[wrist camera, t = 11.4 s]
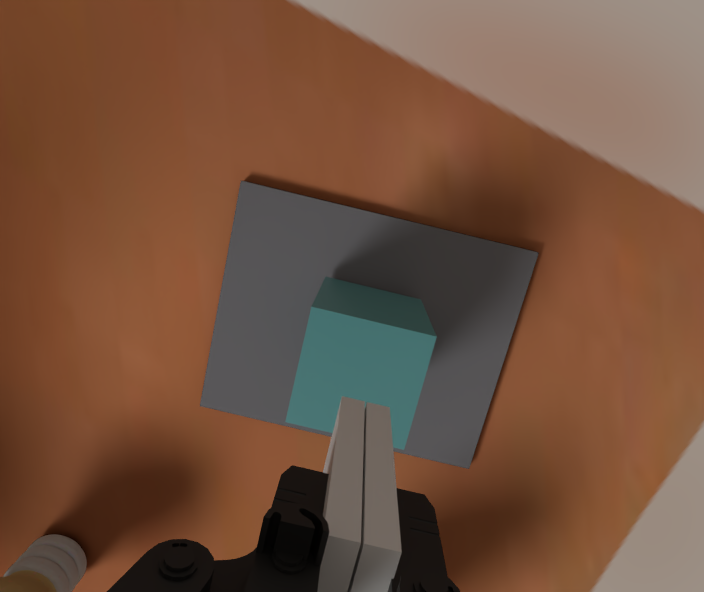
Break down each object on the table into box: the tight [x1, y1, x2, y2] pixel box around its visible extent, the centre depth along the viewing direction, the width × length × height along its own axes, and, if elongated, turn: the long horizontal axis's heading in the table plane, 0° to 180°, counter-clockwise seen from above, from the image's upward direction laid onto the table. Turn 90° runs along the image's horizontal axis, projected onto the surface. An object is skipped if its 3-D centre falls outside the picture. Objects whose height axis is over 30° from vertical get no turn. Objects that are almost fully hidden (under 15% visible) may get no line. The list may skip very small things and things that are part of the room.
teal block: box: [285, 277, 437, 450], centre depth 24 cm, size 5×5×7 cm
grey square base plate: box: [200, 181, 539, 469], centre depth 25 cm, size 16×13×7 cm
